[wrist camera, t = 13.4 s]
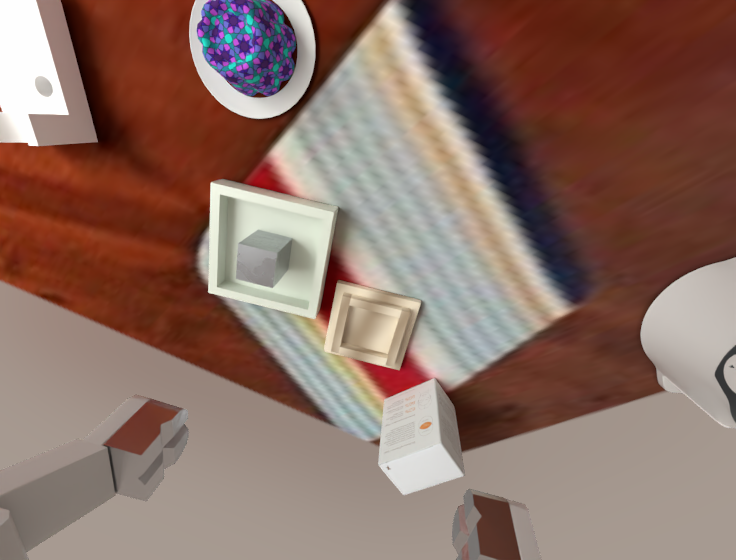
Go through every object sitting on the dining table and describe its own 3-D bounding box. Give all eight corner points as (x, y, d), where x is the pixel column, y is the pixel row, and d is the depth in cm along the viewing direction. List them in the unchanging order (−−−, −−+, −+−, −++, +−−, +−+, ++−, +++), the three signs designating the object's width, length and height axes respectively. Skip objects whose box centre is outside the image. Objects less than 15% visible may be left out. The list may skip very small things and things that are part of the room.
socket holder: (420, 300, 41) (421, 307, 40) (399, 366, 46) (399, 375, 44) (338, 279, 42) (335, 286, 40) (324, 347, 46) (321, 355, 44)
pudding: (232, 137, 37) (205, 139, 32) (170, 5, 33) (128, -15, 28) (337, 90, 34) (324, 85, 29) (283, -61, 30) (259, -95, 25)
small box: (404, 425, 50) (402, 497, 40) (383, 397, 48) (376, 466, 39) (455, 405, 47) (466, 477, 38) (435, 376, 46) (441, 443, 36)
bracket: (105, 141, 38) (38, 145, 32) (45, 138, 39) (-33, 142, 32) (67, -7, 33) (-24, -41, 26) (-1, -8, 34) (-107, -41, 27)
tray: (338, 206, 38) (333, 212, 36) (320, 308, 44) (315, 319, 41) (222, 178, 38) (210, 182, 36) (219, 283, 44) (208, 292, 41)
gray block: (292, 238, 39) (276, 253, 35) (288, 269, 41) (272, 288, 37) (258, 229, 40) (238, 243, 35) (255, 261, 41) (235, 278, 37)
